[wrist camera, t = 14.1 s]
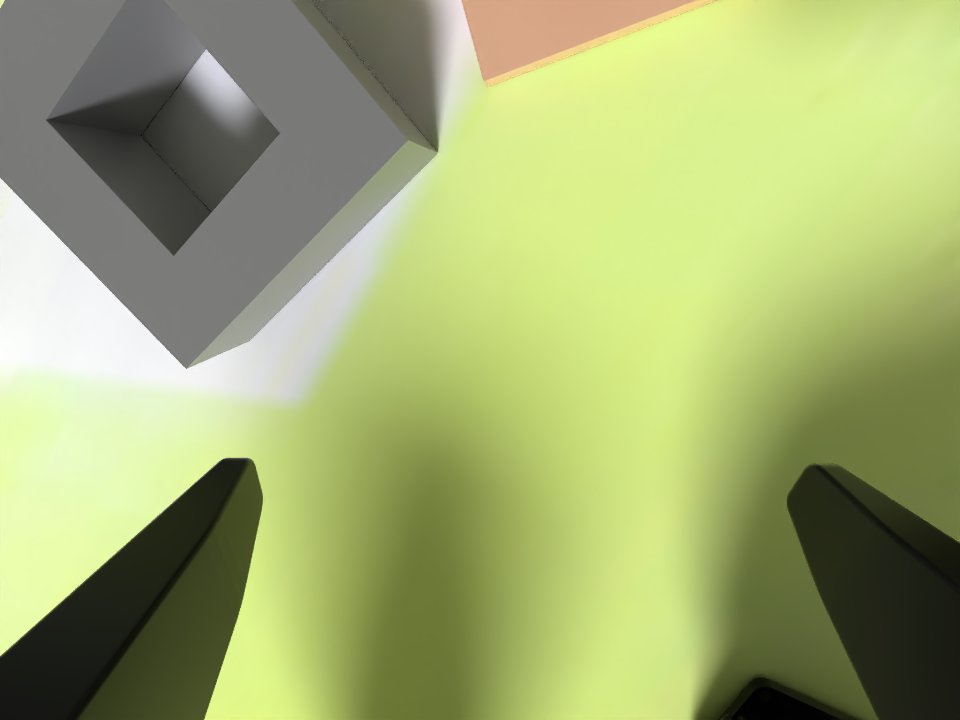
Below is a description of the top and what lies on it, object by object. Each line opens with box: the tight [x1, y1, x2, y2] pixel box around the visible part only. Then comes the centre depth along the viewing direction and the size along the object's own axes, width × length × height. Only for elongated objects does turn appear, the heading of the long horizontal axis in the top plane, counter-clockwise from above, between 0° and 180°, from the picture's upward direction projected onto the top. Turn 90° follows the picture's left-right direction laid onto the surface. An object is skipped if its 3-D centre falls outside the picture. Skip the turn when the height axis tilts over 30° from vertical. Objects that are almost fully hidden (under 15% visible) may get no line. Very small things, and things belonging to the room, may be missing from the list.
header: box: [0, 0, 437, 369], centre depth 16 cm, size 10×10×4 cm
